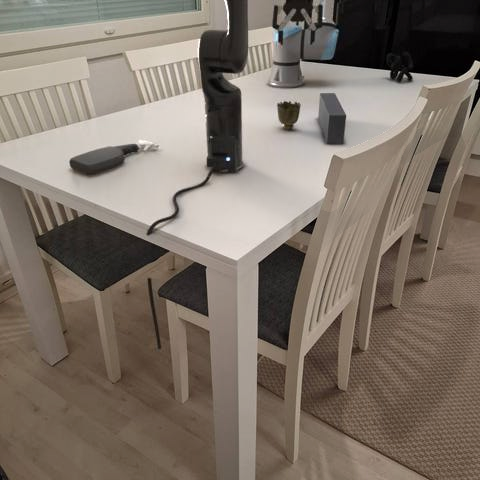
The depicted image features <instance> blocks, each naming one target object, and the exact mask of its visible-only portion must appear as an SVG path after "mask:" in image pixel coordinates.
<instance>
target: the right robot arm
mask: <svg viewBox="0 0 480 480" xmlns="http://www.w3.org/2000/svg"><path fill="white" fill-rule="evenodd" d="M338 1H339V2H337V5H336V16H335V22H334V20H333V18H334V6H335V0H312V5H318V4H321V5H323V26H322V28H319V29H317V30H316V31H315V41H314V43H312V45H309V36H310V30H311V28H310V26H309V25H308V24H307V26H306V27H307V28H306V29H305V28H304V29H303V27H302V25H300V22H299V21H296V22H295V24H294V25H288V26H287V25H286V26H285V27H284V29H283V45H280V43H279V42H278V30H277V29H274V32H273V40H272V43H273V48H272V49H273V51H272V53H273V55H272V56H273V57H272V68H271V70H270V75H269V78H268V85H269V87H270V86H271V87H272V88H273V87H274V88H280V89H291V88H299V87H301V86H303V85H304V80H305V75H303V74H302V73H303V72H302V68H301V60H318V61H319V60H321V61H323V60H326V61H327V60H332V59H333V58H334V56H335V53H336V47H337V43H338V37H339V32H340V30H339V29H337V28H336V26H339V25H340V17H341V14H344V10H345V9H344V8H345V4H346V2H349V1H350V0H338ZM311 20H312V22H313V23H314V25H315V24H317V13H316V12H315V10H314V9H313V10H312V12H311Z"/></svg>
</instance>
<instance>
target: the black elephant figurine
mask: <svg viewBox="0 0 480 480" xmlns="http://www.w3.org/2000/svg"><path fill="white" fill-rule="evenodd" d="M401 57H402V59H401ZM391 59H392V60H391ZM393 60H394V61H393ZM385 61H386V64H387V67H390V68H391V70H390V72H389V78H390V79H391V80H395V79H396V81H397V82H399V83H400V82H402V81H403V79H404V76H406V78H407V80H408V81H412V80H413V79H414V77H413V75H412V74H411V73H410V72H409V71H410V70H412V69H413V68H414V64H413V61H412V57H411V54H410V53H409V52H408V51H403V53H402V54H401V55H396V54H394V53H392V52H390V53H387V55H386V57H385ZM406 62H407V65H408V66H407V67H405V66H404V65H405V64H406ZM400 70H401V71H400Z"/></svg>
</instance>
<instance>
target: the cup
mask: <svg viewBox="0 0 480 480" xmlns="http://www.w3.org/2000/svg"><path fill="white" fill-rule="evenodd" d="M301 106H302V104H301V102H297V101H295V102H294V103H292V101H291V100H289V101H287V100H284V101H283V102H282V101H280V102H278V103H277V104H276V108H277V109H276V110H277V118H278V121H279V123H280V124H282V129H283V130H286V131H291V130H293V129H294V127H295V124H296V123H297V122H298V120H299V118H300V112H301Z"/></svg>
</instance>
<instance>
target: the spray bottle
mask: <svg viewBox="0 0 480 480" xmlns="http://www.w3.org/2000/svg"><path fill="white" fill-rule="evenodd" d="M159 148H160V145H159V144H158V143H155V142H151V141H148V140H144V139H139V140H138V141H137V142H135V143H129V144H128V143H126V144H122V145H113V146H105V147H100V148H97V149H94V150H90V151H87V152H83V153H81V154H78V155H74V156H73V157H70V159H69V161H68V162H69V167H70V168H71V169H72V170H74V171H75V172H78V173H81V174H83V175H85V176H89V177H90V176H91V177H92V176H95V175H99V174H102V173H105V172H107V171H110V170H113V169H116V168H118V167H120V166H122V165H123V164H124V163H125V158H126V156H127V155H131V154H133V153H138V151H140V150H143V151H144V152H146V151H147V150H149V149H159Z"/></svg>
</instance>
